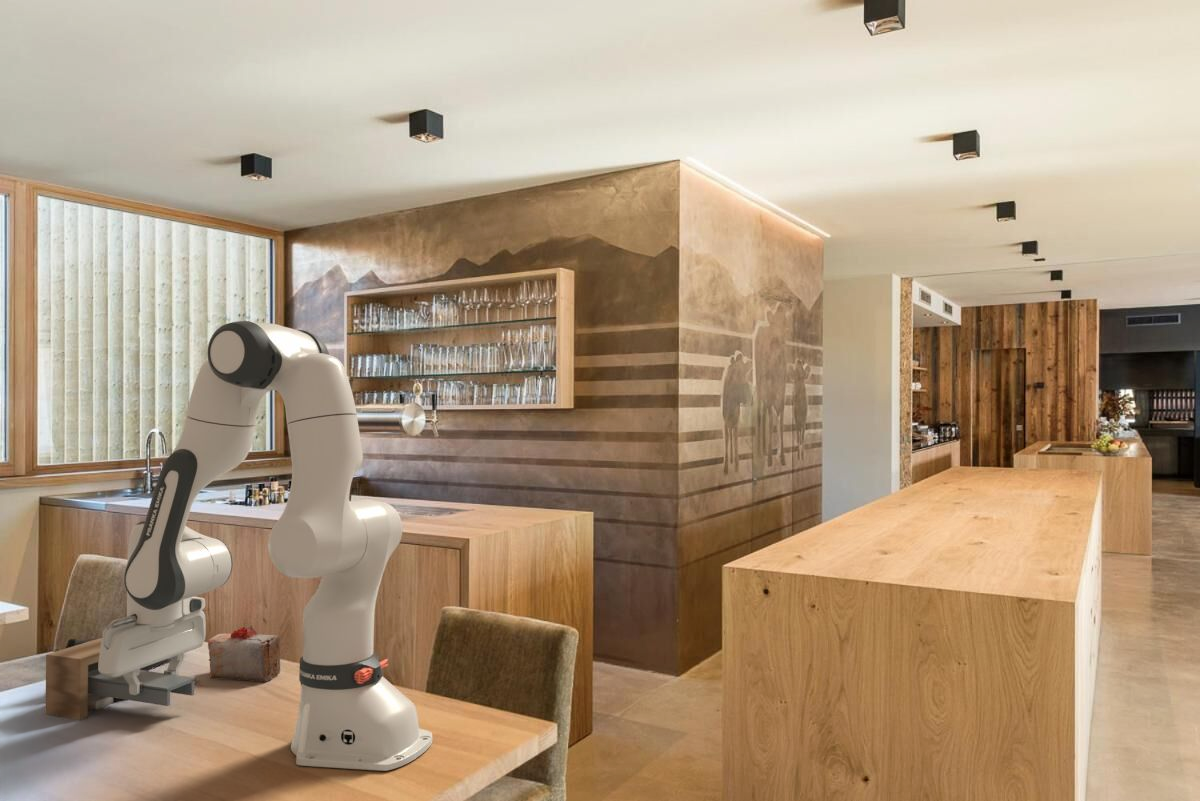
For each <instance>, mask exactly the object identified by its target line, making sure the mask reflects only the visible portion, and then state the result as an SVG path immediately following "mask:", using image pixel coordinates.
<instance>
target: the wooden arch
mask: <svg viewBox="0 0 1200 801" xmlns="http://www.w3.org/2000/svg"><path fill="white" fill-rule="evenodd" d="M98 638H99V637H98ZM102 639H103V638H99V639H96V640H93V641H89V642H86V643H83V644H79V645H76V646H73V647H69V648H66V647H65V648H66V649H65V648H63V649H59V650H57V651H54V652H50V653H46V654H45V711H44V712H45V715H49V716H56V717H61V718H67V719H74V720H83V719H85V718H87V717H88V709H89V710H94V711H95V710H98V709H99V710H100V709H101V708H104V707H107V706H109V705H112V704H114V698H113V697H106V696H100V695H93V694H88V665H90V664H93V663H96V662H99V654H100V647H101V642H102Z"/></svg>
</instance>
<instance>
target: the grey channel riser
mask: <svg viewBox="0 0 1200 801" xmlns="http://www.w3.org/2000/svg"><path fill="white" fill-rule="evenodd" d="M136 676H137V678H138V680H139V682H143V683H144V691H143V692H142V693H140V694H138V695H131V694H130V693H129V684H128V682H127V681H126V679H125V678H124V676H123V675H121V676H119V677H108V676H103V675H102V674H101V673H100V672H99V670H98V669H96V670H93V671H90V672H88V694H93V695H100V696H106V697H113V699H121V700H126V701H133V702H138V703H147V704H153V705H158V706H159V705H160V706H164V707H168V706H170V705H171V694H172V693H173V694H177V695H178V694H180V695H186V696H193V695H195V677H194V676H193V677H192V676H191V677H190V676H187V675H179V674H178V675H172V674H165V673H164V672H157V671H151V670H148V671H144V670H139V675H136Z"/></svg>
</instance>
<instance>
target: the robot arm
mask: <svg viewBox="0 0 1200 801" xmlns="http://www.w3.org/2000/svg"><path fill="white" fill-rule="evenodd" d="M196 376H197V377H196V379H195V381H194V384H193V387H192V391H191V394H190V396H189V397H190V398H189V401H188V402H189V403H188V407H187V411H186V417H185V422H184V426H183V429H182V432H181V435H180V438H179V439H178V443H177V444H176V446H175V448H174V449H173V451H172V453H171V454H170V455H169V456H168V458H166V460H165V461H164V463H163V465H162V467H161V470H160V472H159V475H158V478H157V482H156V485H155V488H154V491H153V493H152V498H151V500H150V504H149V506H148V509H147V510H148V511H147V514H146V518H145V520H142V521H140V522H138V523H136V524H135V525H134V526H133V527H132V530H131V532H130V535H129V539H128V548H127V563H126V566H125V570H124V574H123V583H124V587H125V589H126V590H125V591H126V616H125V617H122V618H118V619H113V620H112V621H110V623H109V624H108V625H107V626H106V627H105V629H104V630H103V632H102V637H103V639H102V642H101V647H100V654H99V663H98V670H99V672H100V673H101V674H102V675H103V676H108V677H119V676H121V675H123V676H124V678H125V679H126V681H127V682H128V684H129V693H130V694H131V695H138V694H140V693H142V692H143V691H144V683H143V682H139V680H138V678H137V676H136V675H139V670H140V669H141V668H143V667H146V666H149V665H152V664H155V663H157V662H160V661H163V660H166V659H169V664H168V667H167V669H165V670H164V671H163V673H165V674H172V675H179V669H180V667H181V665H182V663H183V661H184V655H185V653H187V652H191V651H193V650H197V649H198V648H199V649H200V648H201V647H202V646H203V644H204V643H205V641H206V635H207V634H206V633H207V631H206V630H207V628H206V626H207V625H206V624H207V623H206V621H207V620H206V614H205V612H204V611H203V610H204V609H205V607H206V600H205V598H204V597H199V595H202V594H205V593H208V592H210V591H214V590H216V589H218V588H221V587H222V586H224V585H225V584H226V583H227V582H228V580H229V578H230V577H231V575H232V571H233V563H234V562H233V556H232V553H231V550H230V549H229V547H228V546H227V544H226V543H224V541H222V540H221V539H220V538H217V537H211V536H207V535H205V534H202V533H199V532H198V531H195V530H194V529H192V528H190V527H189V526H187V522H188V518H189V515H190V512H191V508H192V506H193V503H194V501H195V499H196V498H197V496H198V495H199V494H200V493H201V492H202V491H203V490H204V488H206V487H207V486H208V485H209V484H211V483H212V482H213V481H215V480H216V479H218V478H220V477H221V476H224V475H225V474H226V473H229V472H231V471H232V470H234V469H236V468H237V467H238V466H240V465H241V464H242V463H243V462H244V461H245V459H246V458H247V457H248V455H249V452H250V450H251V448H252V445H253V441H254V437H255V431H256V425H257V418H258V411H259V405H260V402H261V399H262V398H263V396H265V395H266V394H267V393H269V392H271V391H275V392H277V393H278V394H279V395H280V396H281V398H282V400H283V405H284V408H285V418H286V425H287V433H288V441H289V450H290V458H291V459H290V460H291V469H292V470H291V484H290V489H289V494H288V498H287V502H286V505H285V507H284V510H283V512H282V513H281V515H280V517H279V518H278V520H277V521H276V522H275V524H273V527H272V529H271V531H270V533H269V536H268V546H267V548H268V554H269V558H270V560H271V562H272V564H273V566H274V567H275V569H276V570H278V572H280V573H281V574H282V575H284V576H286V577H288V578H295V579H296V578H299V579H311V578H312V579H314V578H315V579H317V578H320V579H321V580H320V582H319V585H318V587H317V589H316V590H315V593H314V594H313V595H312V597H310V599H309V601H307V604H306V605H305V607H304V610H303V613H302V614H303V615H302V655H301V657H300V658H299V671H298V672H299V677H298V678H299V679H298V680H299V683H300V686H301V687H300V689H301V691H300V700H299V701H300V702H299V708H298V715H297V722H296V725H295V729H294V735H293V738H292V742H291V744H290V750H291V751H292V753H293V754H294V755H295V756H296V757H295V763H296V765H297V766H301V767H302V766H305V767H318V768H335V769H351V770H363V771H364V770H365V771H367V770H368V771H382V772H383V771H385V772H386V771H390V770H394V769H398V768H400V767H402V766H404V765H407V764H409V763H411V762H412V761H414V760H416V759H417V758H419V757H420V756H421V755H423V754H424V753H425V752H426V751H428V749H429V748H430V747H431V745H432V743H433V741H434V740H433V733H432V731H429V730H427V729H423V728H420V726H419V717H418V712H417V708H416V706H415V704H414V703H413V701H411V700H410V699H409V698H408V697H407V696H406V695H405V694H403V693H402V692H401V691H400V690H398V689H397V687H395V685H393V684H392V683H391V682H390V681H388V680H387V679H386V678H385V677H384V672H383V670H382V669H384V668H385V667H387V666H388V665H389V664H388V663H387V662H388V661H389V658H385V659H384V660H381V661H379V658H378V656H377V653H376V651H375V650H374V641H375V640H374V636H375V611H376V603H377V597H378V593H379V591H380V585H381V582H382V579H383V575H384V572H385V569H386V567H387V565H388V564H387V563H388V562H389V560H390V557H391V556H392V554H393V553H394V552H395V550H396V549H397V548H398V545H399V544H400V543H401V540H402V537H403V529H404V528H403V522H402V519H401V516H400V514H399V512H398V511H397V510H396V509H395V508H394V506H392V505H391V504H389V503H388V502H384V501H380V500H374V499H366V498H364V499H363V498H361V499H355V500H350V494H351V493H350V492H351V487H352V482H353V478H354V476H355V474H356V473H357V472H358V470H360V468H361V466H362V464H363V460H364V453H363V448H362V447H363V446H362V440H361V433H360V427H359V421H358V414H357V413H358V412H357V408H356V403H355V398H354V395H353V390H352V386H351V383H350V380H349V377H348V374H347V371H346V369H345V367H344V365H343V363H342V362H341V360H340V359H339V358H337V357H335V356H333V355H330V352H329V350H328V347H327V345H326V344H325V342H324V341H322V339H321V338H319V337H318V336H317V335H314V334H313V333H311V332H309V331H305V330H303V329H294V328H291V327H287V326H283V325H280V324H278V323H277V324H276V323H269V322H253V321H251V320H250V321H249V320H240V321H239V320H238V321H232V322H228V323H225V324H222V325H221V326H220V327H218V328H216V330H215V331H214V332H213V334H212V335H211V337H210V339H209V342H208V345H207V360H206V361H205V362H204V363H203V364H201V367H200V369H199V371H198V373H197V375H196Z"/></svg>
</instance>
